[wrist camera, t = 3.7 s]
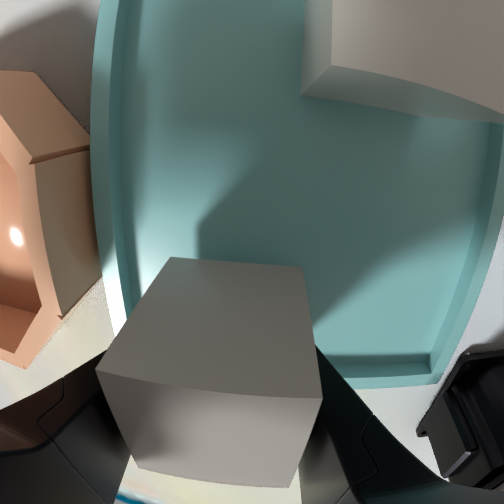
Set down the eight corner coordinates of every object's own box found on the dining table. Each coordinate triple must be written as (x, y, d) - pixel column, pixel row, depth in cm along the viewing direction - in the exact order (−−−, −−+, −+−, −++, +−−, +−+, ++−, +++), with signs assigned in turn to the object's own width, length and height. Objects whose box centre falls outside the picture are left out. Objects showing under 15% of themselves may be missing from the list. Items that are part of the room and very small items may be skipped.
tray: (494, 15, 6) (511, 10, 5) (429, 366, 12) (437, 383, 11) (124, -33, 7) (110, -45, 6) (132, 350, 13) (123, 367, 12)
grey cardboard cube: (423, 10, 6) (511, -40, 2) (422, 117, 8) (530, 127, 3) (304, -18, 7) (327, -112, 2) (300, 96, 8) (330, 64, 4)
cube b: (302, 266, 9) (322, 398, 5) (286, 364, 11) (288, 487, 6) (170, 256, 9) (95, 369, 5) (178, 354, 11) (138, 467, 6)
